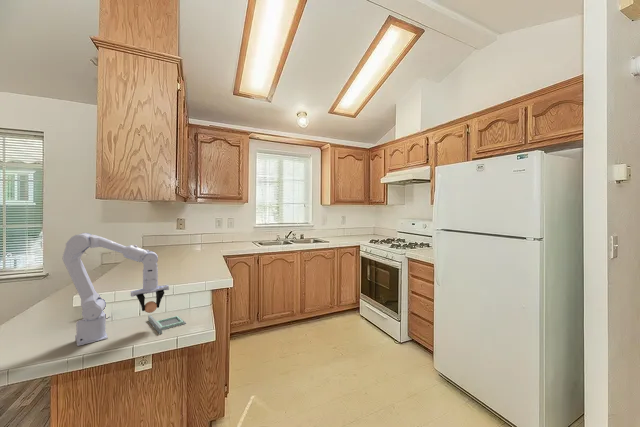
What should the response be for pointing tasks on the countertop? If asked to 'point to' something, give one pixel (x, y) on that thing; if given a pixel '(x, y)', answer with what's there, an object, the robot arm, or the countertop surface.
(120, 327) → the countertop surface
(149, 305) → the ball
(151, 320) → the acrylic wall
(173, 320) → the pad
